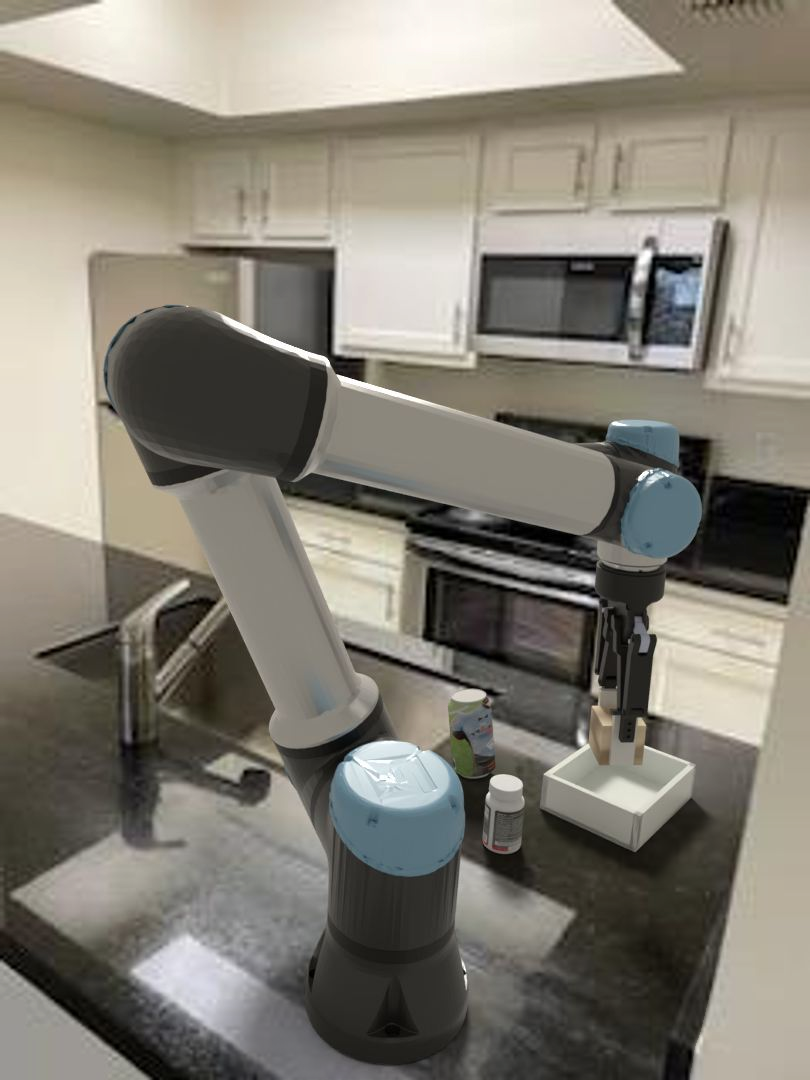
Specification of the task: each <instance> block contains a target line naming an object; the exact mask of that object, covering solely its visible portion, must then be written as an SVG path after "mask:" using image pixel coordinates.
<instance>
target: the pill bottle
mask: <svg viewBox="0 0 810 1080" xmlns="http://www.w3.org/2000/svg"><path fill="white" fill-rule="evenodd" d="M523 789H524V785H523V781H522V780H521V779H520V778H519V777H517V776H514V775H510V774H503V773H502V774H495V775H494V776H492V777H491V778H490V780H489V786H488V790H489V791H488V793H486V796H485V801H484V802H485V803H484V804H485V805H484V816H483V817H484V818H483V827H482V828H483V829H482V843H483V845H484V847H486V849H488V850H489V851H491V852H493V853H496V854H500V855H509V854H513V853H515V852H517V851H518V850H519V849H520V848H521V845H522V837H523V836H522V835H523V826H524V825H523V824H524V817H525V815H524V814H525V804H526V803H525V802H526V801H525V798H524V796H523Z"/></svg>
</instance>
